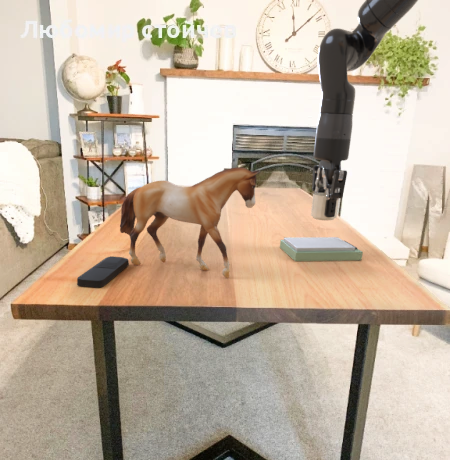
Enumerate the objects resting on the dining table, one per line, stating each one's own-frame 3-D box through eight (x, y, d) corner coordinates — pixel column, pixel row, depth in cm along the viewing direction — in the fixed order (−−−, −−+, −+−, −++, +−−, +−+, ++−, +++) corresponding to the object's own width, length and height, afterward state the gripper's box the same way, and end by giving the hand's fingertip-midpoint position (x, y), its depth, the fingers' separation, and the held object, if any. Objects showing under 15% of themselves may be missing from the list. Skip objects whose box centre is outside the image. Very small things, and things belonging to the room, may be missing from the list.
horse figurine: (256, 273, 90) (263, 168, 82) (243, 284, 83) (250, 171, 75) (124, 253, 100) (119, 158, 92) (103, 262, 93) (97, 159, 85)
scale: (340, 247, 113) (341, 236, 112) (361, 260, 102) (363, 248, 101) (279, 247, 110) (280, 236, 109) (295, 261, 99) (296, 249, 98)
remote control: (101, 291, 79) (130, 264, 92) (101, 281, 78) (129, 255, 91) (75, 288, 79) (107, 262, 93) (74, 279, 78) (107, 254, 92)
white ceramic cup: (330, 216, 106) (333, 192, 104) (340, 221, 101) (343, 196, 98) (307, 216, 105) (309, 192, 103) (315, 220, 100) (318, 196, 98)
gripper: (364, 138, 90) (352, 220, 96) (336, 136, 103) (327, 208, 110) (329, 137, 89) (319, 220, 95) (305, 135, 102) (298, 208, 108)
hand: (323, 213), depth 102 cm, fingers closed on white ceramic cup, 6 cm apart
